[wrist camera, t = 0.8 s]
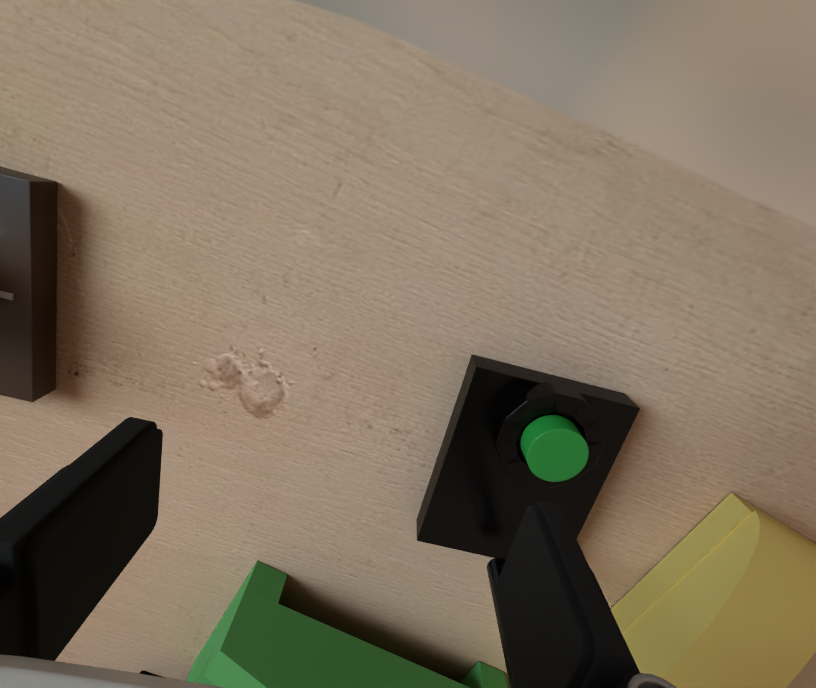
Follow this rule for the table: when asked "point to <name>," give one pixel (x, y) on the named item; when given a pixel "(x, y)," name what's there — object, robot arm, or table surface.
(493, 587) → the lamp
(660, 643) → the pop-up book
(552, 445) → the button
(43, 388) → the dimmer panel
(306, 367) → the table surface
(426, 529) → the lamp base
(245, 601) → the green cradle stand
